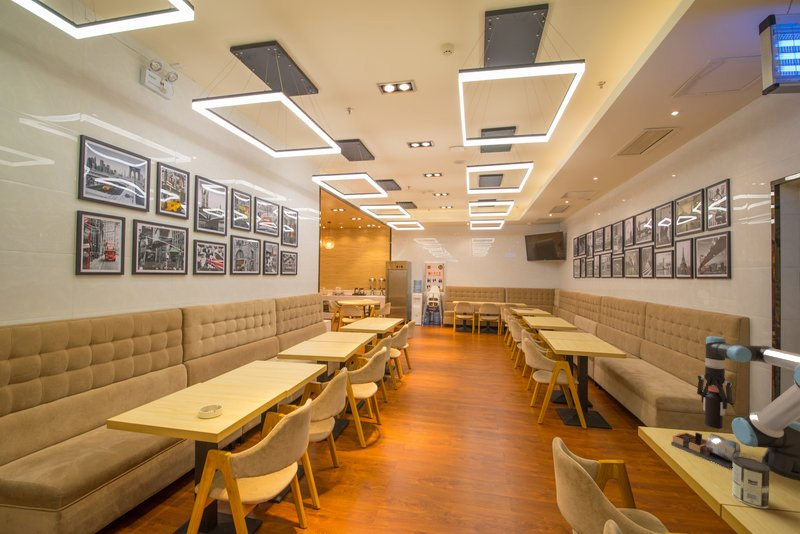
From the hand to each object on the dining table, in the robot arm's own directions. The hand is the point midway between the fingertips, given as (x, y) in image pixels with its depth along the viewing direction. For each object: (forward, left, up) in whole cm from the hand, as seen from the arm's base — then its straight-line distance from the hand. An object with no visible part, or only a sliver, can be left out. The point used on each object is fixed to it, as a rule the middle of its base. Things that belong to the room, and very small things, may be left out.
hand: (713, 412), depth 180 cm
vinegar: (0, 0, -7) cm, 7 cm away
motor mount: (-4, +15, -17) cm, 23 cm away
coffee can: (-30, +42, -17) cm, 54 cm away
